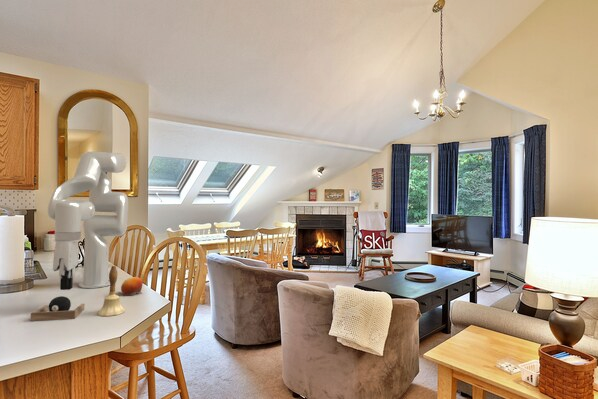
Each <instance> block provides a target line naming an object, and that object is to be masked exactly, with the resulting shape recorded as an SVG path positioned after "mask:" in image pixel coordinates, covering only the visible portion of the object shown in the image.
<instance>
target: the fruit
mask: <svg viewBox="0 0 598 399" xmlns="http://www.w3.org/2000/svg"><path fill="white" fill-rule="evenodd" d="M142 288H143V280H142V279H141V277H138V276H133V277H132V276H131V277H129V278H127V279H125V280H124V281H123V282H122V284H121V286H120V291H121V292H122V294H124V296H125V295H126V296H135V295H136V294H138V293H140V294H142V292H141V291H142Z"/></svg>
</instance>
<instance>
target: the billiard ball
mask: <svg viewBox="0 0 598 399" xmlns="http://www.w3.org/2000/svg"><path fill="white" fill-rule="evenodd" d="M71 306H72V302H71V300H70V299H69V298H68V296H61V295H59V296H56V297H54V298H53V299H51V300H50V302H49V304H48V311H68V310H70V308H71Z"/></svg>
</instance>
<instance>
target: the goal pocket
mask: <svg viewBox="0 0 598 399" xmlns="http://www.w3.org/2000/svg"><path fill="white" fill-rule="evenodd" d="M85 306H86V304H85V303H80V305H78V306H77V307H76V308H75V309H73V310H70V309H69V310H68V311H49V308H48V307H49V304H48V305H43V306H41V307H40V308H38V309H37V310H36V311H31V313H30V322H40V321H41V322H42V321H44V322H45V321H57V320H61V321H62V320H75V318H77V317H78V316H79V315H80V314H81V313H82V312H83V311H84V310H85Z"/></svg>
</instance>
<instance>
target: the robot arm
mask: <svg viewBox="0 0 598 399" xmlns="http://www.w3.org/2000/svg"><path fill="white" fill-rule="evenodd" d="M126 166H127V159H126V156H125V155H124V154H123V153H118V152H104V151H86V152H84V153H83V154H82V155H81V156H80V158H79V161H78V164H77V167H76V170H75V173H74V176H73V177H72V178H70V179H68V180H66V181H64V182H62V184H60V185H59V186H58V187H57V188H55V189H54V190H53V192H52V195H51V197H50V200H49V202H48V206H47V215H48V216H49V218H50V219H52V220H54V242H55V245H54V252H53V259H52V260H53V261H52V262H53V263H52V271H53V272H57V271H58V276H59V277H60V278H59V279H60V280H59V281H60V284H59V285H60V286H59V287H60V290H61V291H65V290H66V291H67V290H69V291H70V290H71V289H73V283H74V282H73V281H74V280H73V279H74V278H73V277H74V269H75V267H77V266H78V264H79V242H80V241H81V238H82V237H81V236H82V228H83V236H84V237H83V238H84V252H83V253H84V256H83V257H84V258H83V279H82V280H83V281H80V282H79V283H78V286H79V288H82V289H96V288H97V289H98V288H104V287H107V286H110V281H109V255H110V245H109V243H108V241H107V240H106V239H105V237H122V236H124V235H126V233H127V230H128V222H129V220H128V219H129V218H128V217H129V198H128V197H129V196H128V195H127V194H126V193H125V192H122V191H112V184H113V182H112V180H111V177H109V175H108V174H110V173H112V174H113V173H115V174H117V173H118V174H119V173H122V172H124V170H125V169H126ZM107 173H108V174H107ZM87 191H89V196H88V200H82V199H81V200H80V199H77V200H76V199H68V198H70V197H72V196H75V195H78V194H83V193H85V192H87ZM95 213H115V214H116V215H111V214H110V215H109V214H95ZM82 221H83V223H82Z"/></svg>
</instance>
